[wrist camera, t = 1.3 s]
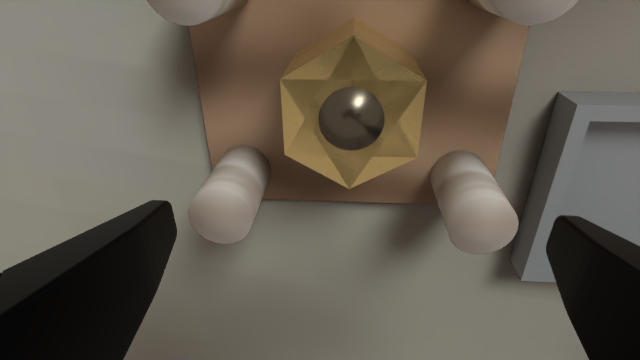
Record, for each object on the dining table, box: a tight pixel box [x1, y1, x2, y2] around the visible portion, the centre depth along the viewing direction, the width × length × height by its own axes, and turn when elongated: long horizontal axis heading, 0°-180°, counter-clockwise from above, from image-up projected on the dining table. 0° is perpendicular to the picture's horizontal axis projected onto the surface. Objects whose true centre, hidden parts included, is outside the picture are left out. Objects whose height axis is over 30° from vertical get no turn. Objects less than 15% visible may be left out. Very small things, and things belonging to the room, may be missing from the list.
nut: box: [280, 17, 427, 189], centre depth 18 cm, size 6×6×5 cm
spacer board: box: [147, 0, 578, 254], centre depth 18 cm, size 14×16×6 cm
